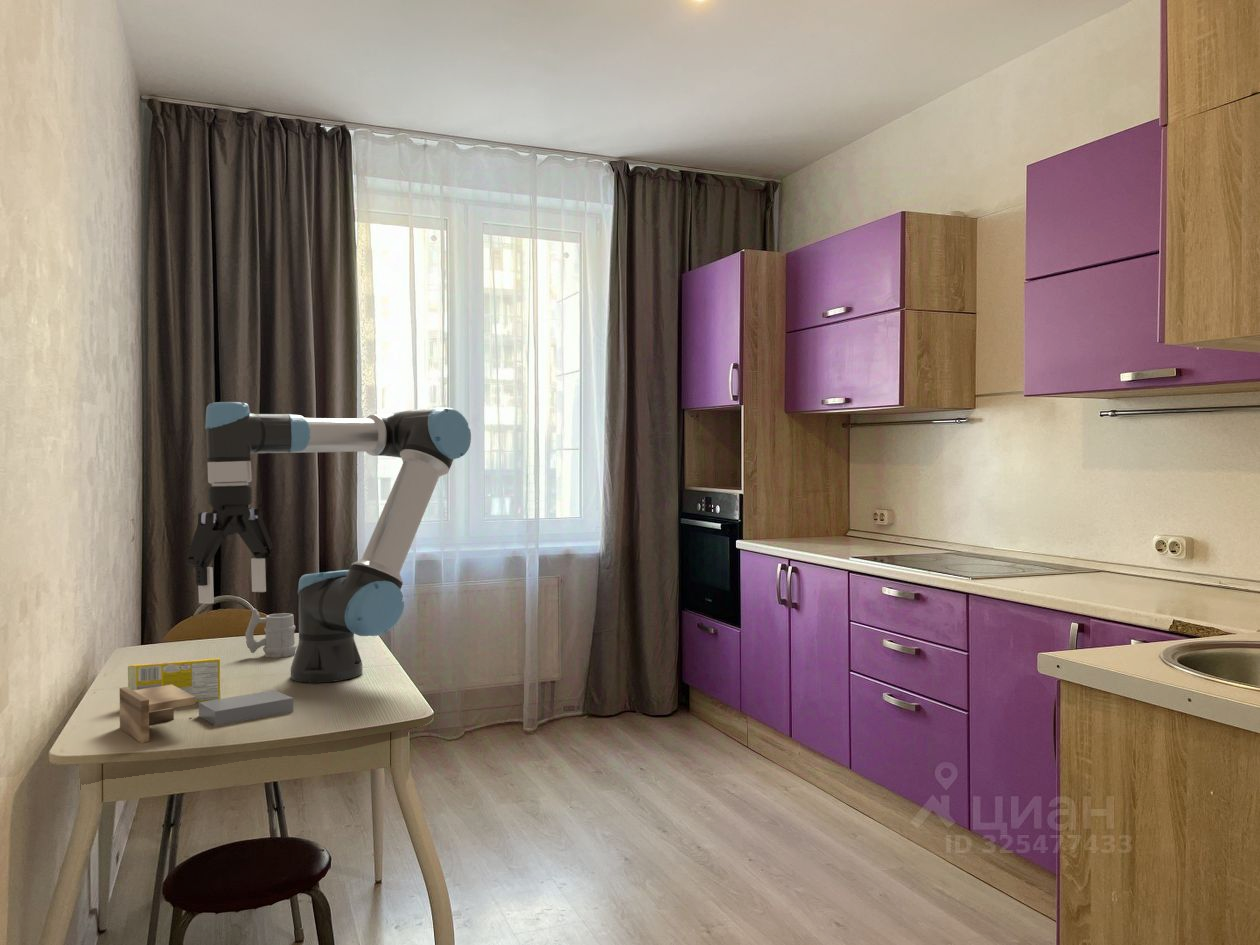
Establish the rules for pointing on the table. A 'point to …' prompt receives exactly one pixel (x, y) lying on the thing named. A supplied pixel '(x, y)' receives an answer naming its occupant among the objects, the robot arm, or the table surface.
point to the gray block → (245, 707)
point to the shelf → (149, 708)
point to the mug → (273, 634)
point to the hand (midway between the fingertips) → (233, 597)
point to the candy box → (179, 677)
